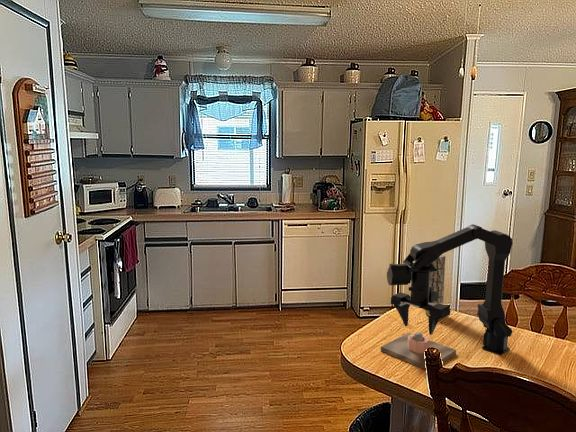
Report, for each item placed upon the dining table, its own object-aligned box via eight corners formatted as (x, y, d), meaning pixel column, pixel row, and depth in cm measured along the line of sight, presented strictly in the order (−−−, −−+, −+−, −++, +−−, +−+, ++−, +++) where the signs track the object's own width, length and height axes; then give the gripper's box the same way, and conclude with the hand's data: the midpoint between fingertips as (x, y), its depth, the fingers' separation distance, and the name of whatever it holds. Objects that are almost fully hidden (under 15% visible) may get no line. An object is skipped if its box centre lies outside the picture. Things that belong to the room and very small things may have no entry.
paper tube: (443, 318, 174) (446, 256, 170) (425, 317, 175) (428, 255, 171) (441, 311, 181) (444, 252, 177) (424, 310, 182) (426, 251, 178)
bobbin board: (455, 354, 145) (456, 335, 144) (429, 371, 134) (429, 351, 133) (408, 336, 158) (409, 319, 157) (380, 350, 148) (381, 332, 147)
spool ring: (432, 348, 146) (432, 338, 145) (421, 354, 142) (421, 344, 141) (415, 342, 150) (415, 332, 150) (404, 347, 146) (404, 337, 146)
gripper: (460, 285, 141) (457, 331, 143) (409, 272, 155) (408, 315, 157) (441, 293, 133) (439, 342, 136) (390, 279, 147) (388, 324, 150)
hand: (418, 330), depth 145 cm, fingers open, 9 cm apart
